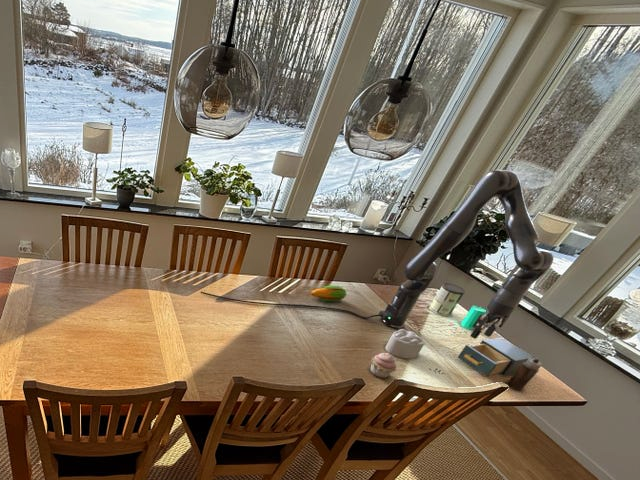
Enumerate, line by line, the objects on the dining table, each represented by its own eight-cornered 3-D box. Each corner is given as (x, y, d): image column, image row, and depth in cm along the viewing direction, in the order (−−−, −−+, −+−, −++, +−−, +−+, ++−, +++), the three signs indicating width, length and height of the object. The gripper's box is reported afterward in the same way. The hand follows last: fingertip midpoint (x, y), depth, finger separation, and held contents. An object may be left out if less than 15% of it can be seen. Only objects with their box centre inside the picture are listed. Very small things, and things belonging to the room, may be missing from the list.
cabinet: (503, 376, 167) (515, 360, 163) (471, 355, 178) (482, 340, 174) (521, 372, 171) (534, 357, 167) (489, 352, 182) (500, 337, 178)
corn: (352, 290, 200) (317, 289, 196) (347, 303, 204) (312, 303, 200) (344, 284, 207) (309, 283, 202) (339, 297, 210) (305, 296, 206)
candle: (476, 330, 198) (490, 310, 191) (463, 328, 198) (477, 307, 192) (470, 324, 203) (484, 304, 196) (458, 321, 203) (471, 301, 197)
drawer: (479, 378, 162) (489, 365, 159) (451, 358, 172) (459, 345, 169) (503, 373, 168) (513, 361, 164) (475, 354, 178) (483, 342, 174)
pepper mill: (516, 391, 159) (540, 364, 151) (503, 382, 163) (526, 355, 155) (524, 389, 161) (548, 362, 153) (512, 381, 165) (534, 354, 157)
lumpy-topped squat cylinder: (420, 357, 171) (430, 341, 166) (395, 358, 168) (405, 342, 163) (403, 343, 179) (412, 327, 174) (379, 344, 176) (388, 328, 171)
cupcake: (364, 362, 163) (375, 343, 157) (388, 369, 161) (399, 349, 155) (367, 376, 155) (378, 356, 149) (392, 383, 153) (405, 363, 148)
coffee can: (440, 306, 216) (454, 283, 208) (454, 316, 208) (470, 293, 200) (424, 305, 214) (438, 282, 206) (438, 316, 206) (453, 292, 198)
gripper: (502, 307, 142) (476, 344, 151) (528, 305, 146) (500, 340, 156) (483, 296, 147) (458, 332, 157) (508, 294, 152) (483, 329, 161)
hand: (479, 336), depth 156 cm, fingers open, 7 cm apart
